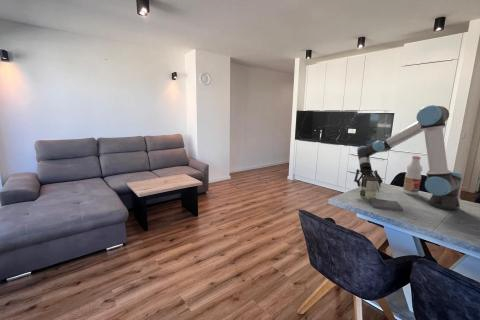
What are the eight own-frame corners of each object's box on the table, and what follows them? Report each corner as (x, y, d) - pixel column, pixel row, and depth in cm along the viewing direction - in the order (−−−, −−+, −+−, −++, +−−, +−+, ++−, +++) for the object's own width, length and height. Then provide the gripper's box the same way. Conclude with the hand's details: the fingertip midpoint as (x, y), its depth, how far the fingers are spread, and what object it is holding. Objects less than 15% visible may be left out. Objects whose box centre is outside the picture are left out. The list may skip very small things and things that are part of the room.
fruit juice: (404, 190, 182) (409, 155, 176) (418, 193, 175) (425, 156, 170) (401, 192, 175) (407, 156, 170) (416, 196, 169) (423, 158, 163)
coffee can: (357, 196, 166) (359, 177, 163) (363, 193, 173) (365, 175, 170) (372, 200, 158) (375, 180, 156) (378, 197, 165) (381, 178, 162)
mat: (396, 203, 154) (396, 201, 154) (402, 211, 141) (403, 209, 141) (369, 200, 159) (369, 197, 159) (373, 207, 146) (373, 205, 146)
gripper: (380, 168, 175) (386, 194, 163) (347, 166, 179) (350, 192, 167) (384, 162, 169) (390, 189, 157) (349, 161, 173) (353, 187, 161)
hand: (370, 191), depth 162 cm, fingers open, 11 cm apart
